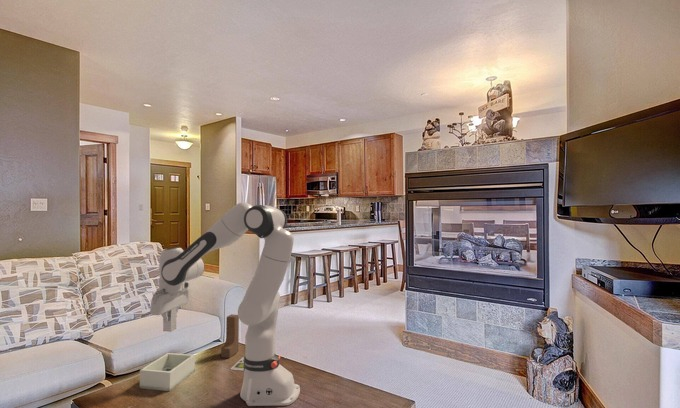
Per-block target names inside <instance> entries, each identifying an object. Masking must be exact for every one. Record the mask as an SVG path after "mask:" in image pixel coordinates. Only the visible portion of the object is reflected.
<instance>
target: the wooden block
mask: <svg viewBox="0 0 680 408" xmlns="http://www.w3.org/2000/svg"><path fill="white" fill-rule="evenodd" d="M239 323H240V319H239V317H238V314H232V313H231V314H229V315H228V316H226V328H225V329H226V330H225V333H226V335H225V337H226V338H225V343H224V344H223V346H222V347H221V349H220V358H223V359H225V358H226V359H230V358H232V357H233V356H234V355H235V354H237V353H238V352H239V340H240V339H239V333H240V332H239V330H240V329H239V328H240V325H239Z"/></svg>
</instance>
